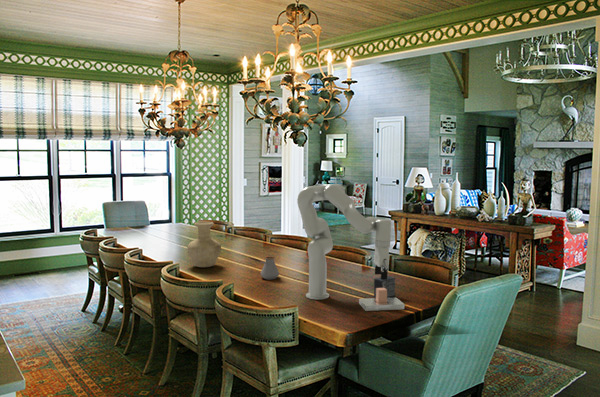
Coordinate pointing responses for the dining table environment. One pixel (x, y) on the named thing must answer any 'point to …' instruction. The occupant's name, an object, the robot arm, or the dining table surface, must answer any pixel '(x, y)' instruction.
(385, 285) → the small box
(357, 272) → the dining table surface
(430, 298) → the dining table surface
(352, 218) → the robot arm
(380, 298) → the square peg
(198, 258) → the vase
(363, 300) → the white rectangular slab
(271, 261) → the coffee pot
